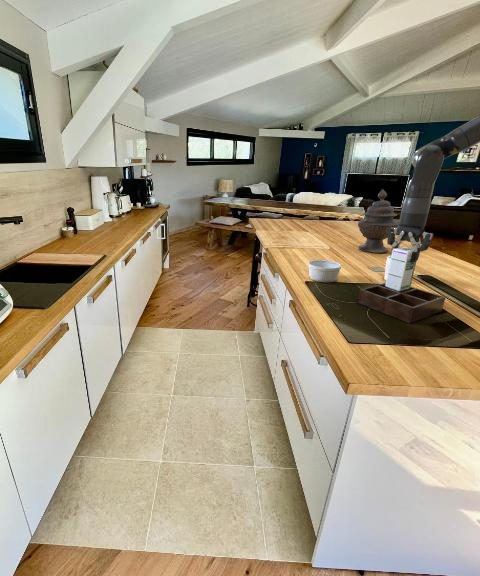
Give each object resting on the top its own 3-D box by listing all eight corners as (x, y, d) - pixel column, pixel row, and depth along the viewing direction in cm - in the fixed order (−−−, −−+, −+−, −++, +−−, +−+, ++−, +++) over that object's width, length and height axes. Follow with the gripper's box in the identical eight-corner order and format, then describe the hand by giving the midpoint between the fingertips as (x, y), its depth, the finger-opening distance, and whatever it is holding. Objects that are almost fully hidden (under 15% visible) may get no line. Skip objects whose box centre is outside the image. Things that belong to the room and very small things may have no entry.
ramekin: (327, 273, 146) (330, 258, 144) (345, 282, 134) (348, 267, 131) (301, 275, 144) (303, 260, 142) (316, 284, 132) (319, 269, 129)
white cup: (381, 276, 141) (386, 254, 138) (402, 278, 138) (407, 256, 134) (383, 281, 135) (388, 259, 131) (404, 284, 131) (410, 261, 128)
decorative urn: (395, 255, 170) (404, 188, 160) (353, 253, 180) (360, 190, 170) (394, 249, 186) (402, 187, 176) (356, 248, 196) (362, 189, 186)
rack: (441, 311, 107) (446, 297, 105) (409, 323, 99) (413, 308, 97) (388, 293, 122) (391, 280, 120) (357, 302, 114) (360, 289, 112)
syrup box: (399, 291, 110) (409, 251, 105) (384, 286, 115) (392, 247, 110) (410, 288, 112) (420, 249, 107) (394, 283, 118) (403, 246, 112)
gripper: (445, 212, 100) (431, 263, 106) (399, 208, 112) (389, 253, 118) (432, 214, 97) (418, 266, 103) (386, 209, 109) (377, 256, 115)
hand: (403, 259), depth 110 cm, fingers closed on syrup box, 6 cm apart
